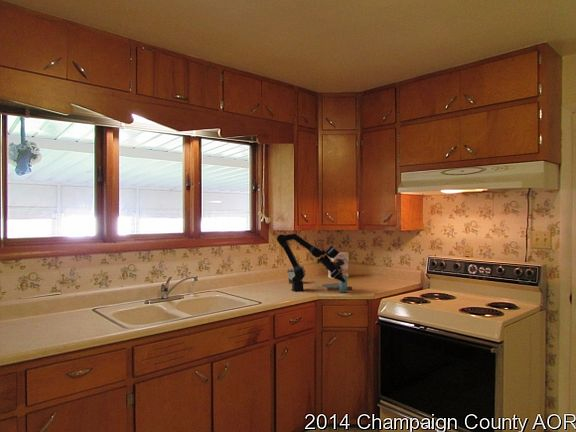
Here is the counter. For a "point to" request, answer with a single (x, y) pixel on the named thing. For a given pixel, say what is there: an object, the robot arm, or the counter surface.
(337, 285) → the mat
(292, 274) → the food container
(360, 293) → the counter surface
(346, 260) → the coffeecake box
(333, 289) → the bar
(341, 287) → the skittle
